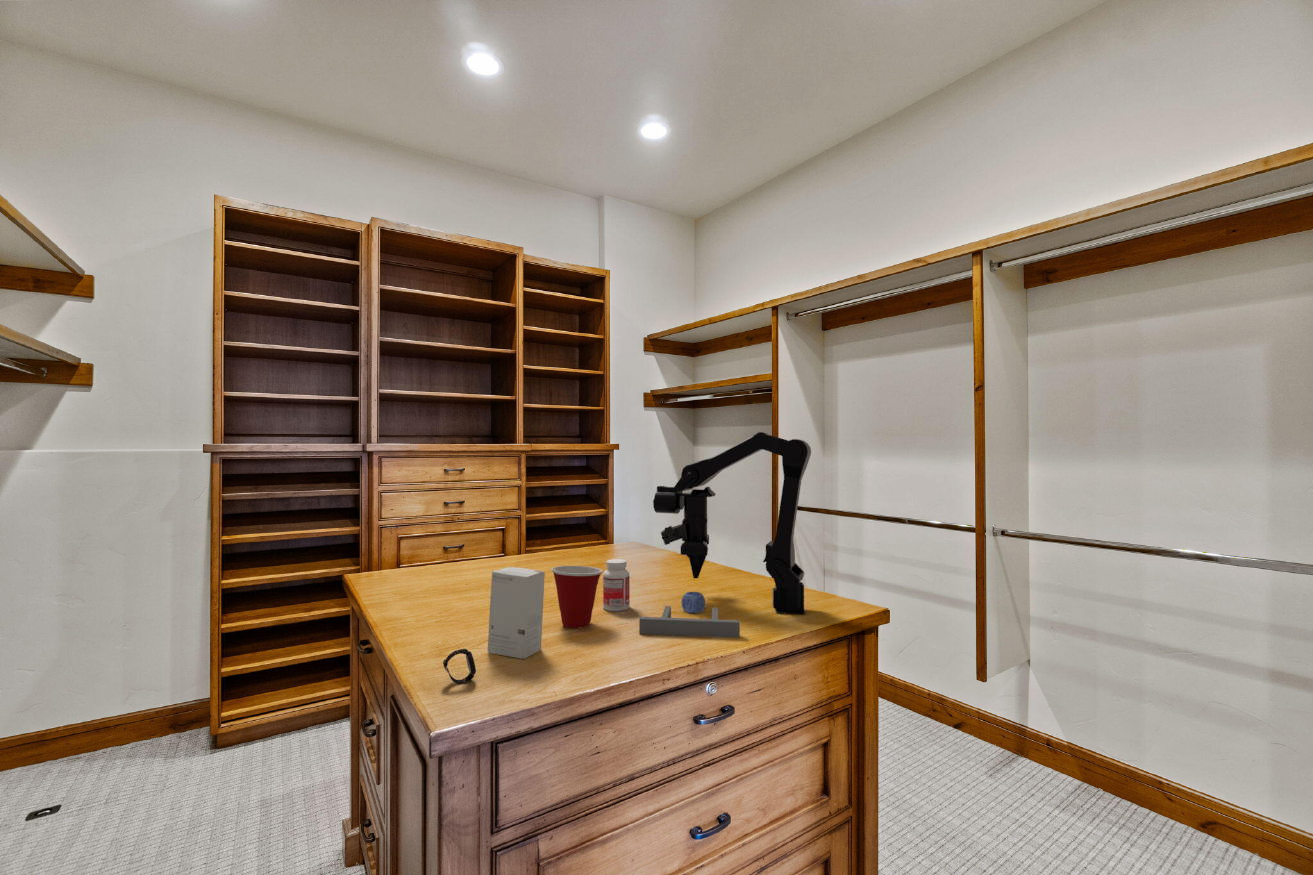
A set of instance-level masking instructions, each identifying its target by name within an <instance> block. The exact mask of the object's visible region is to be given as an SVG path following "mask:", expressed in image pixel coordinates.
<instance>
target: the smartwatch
mask: <svg viewBox="0 0 1313 875" xmlns="http://www.w3.org/2000/svg"><path fill="white" fill-rule="evenodd" d="M460 654H461V655H462V654H463V655H465V659H466V664H467V668H468V670H469V673H468V675H467V676H465V677H464V678H462V679H456V678H454V677H453V676H452V675H451V674H450V671H449V668H448V664H449V663H448V662H450V660H451V659H452V658H453V657H455V656H457V655H460ZM442 664H443V667H444V670H445V671H446V672H447V673H448V675H449V676H448V677H449V678H450V680H451V681H452V682H453V683H454V684H455V685H464V684H466V683H467V682H469V681H471V680H473V678H474V677H475V675H476V672H477V670H476V664H475V660H474V656H473V654H472V652H471V651H470V650H469V649H467V648H461V649H457V650H454V651H452V652H451V653H449V655H447V657H446V658H445V659H443V662H442Z"/></svg>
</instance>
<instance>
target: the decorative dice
mask: <svg viewBox="0 0 1313 875" xmlns="http://www.w3.org/2000/svg"><path fill="white" fill-rule="evenodd" d="M681 607H682V610H683V611H684V612H685V613H687V612H688V614H692V613H696V614H700V612H701V613H702V612H703V611H704V609H705V607H706V598H705V596H704V595H703V593H701V592H699V591H688V592H685V593H684V594H683V596H682V598H681Z"/></svg>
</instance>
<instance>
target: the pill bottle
mask: <svg viewBox="0 0 1313 875" xmlns="http://www.w3.org/2000/svg"><path fill="white" fill-rule="evenodd" d="M605 565H606V568H607V569H606V570H605V571H603V574H602V584H603V585H602V587H603V588H602V590H603V591H602V592H603V593H602V595H603V597H602V598H603V599H602V604H603V609H604V610H605V611H609V612H623V611H626V610H627V611H628V609H629V608H630V605H631V604H630V592H631V590H630V585H631V584H630V579H631V578H630V572H629V570H628V569H627V568H626V567H627V560H626V559H623V558H612V559H608V560H607V561H606V564H605Z"/></svg>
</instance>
